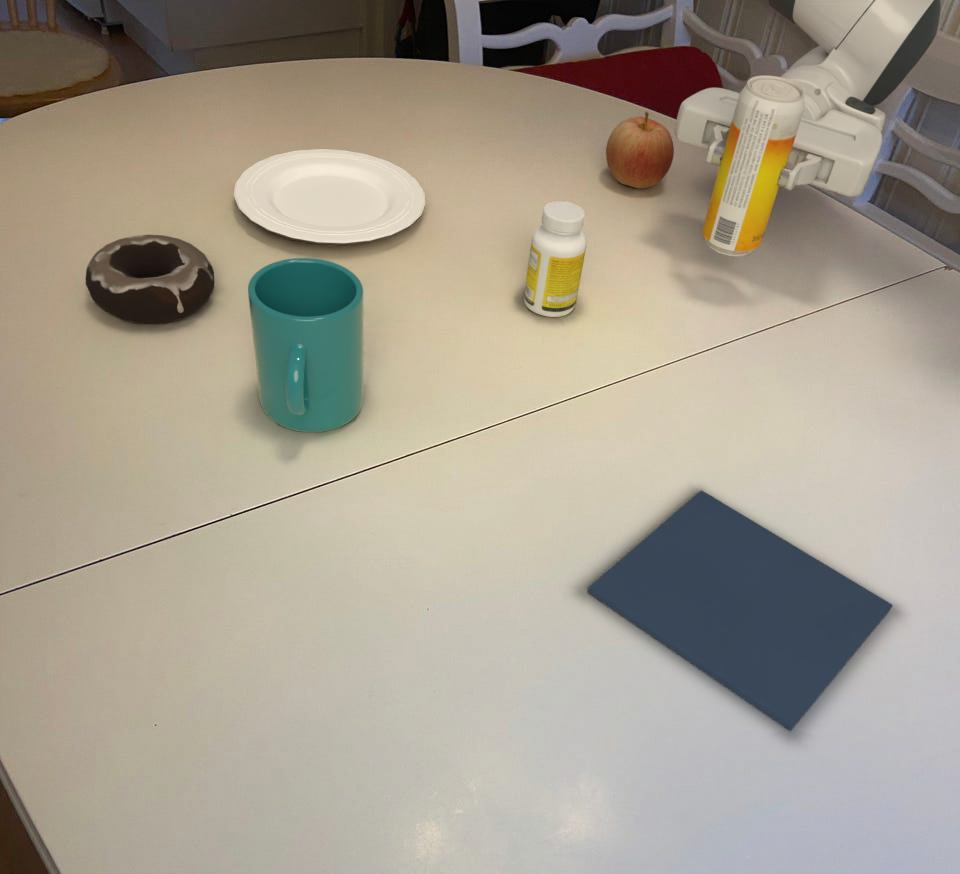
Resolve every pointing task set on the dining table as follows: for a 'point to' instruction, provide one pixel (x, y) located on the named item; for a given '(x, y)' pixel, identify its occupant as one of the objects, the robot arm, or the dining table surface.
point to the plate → (329, 197)
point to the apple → (639, 152)
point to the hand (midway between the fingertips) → (750, 168)
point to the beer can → (753, 164)
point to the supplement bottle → (556, 260)
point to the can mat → (743, 606)
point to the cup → (308, 343)
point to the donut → (150, 279)
